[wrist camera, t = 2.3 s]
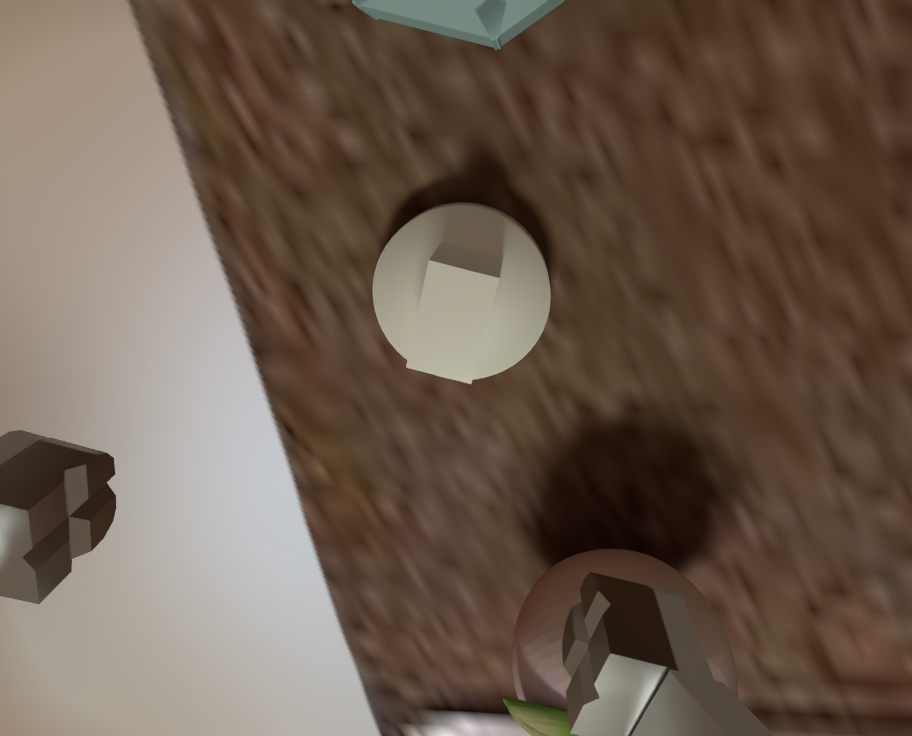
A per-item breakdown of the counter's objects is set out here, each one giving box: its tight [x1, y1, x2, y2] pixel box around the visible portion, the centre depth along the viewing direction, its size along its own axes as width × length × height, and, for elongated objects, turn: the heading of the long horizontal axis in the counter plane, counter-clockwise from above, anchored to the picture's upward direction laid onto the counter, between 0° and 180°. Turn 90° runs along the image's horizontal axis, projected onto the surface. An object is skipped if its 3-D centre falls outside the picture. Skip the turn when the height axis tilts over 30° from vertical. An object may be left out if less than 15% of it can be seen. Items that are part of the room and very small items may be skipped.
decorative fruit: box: [503, 549, 738, 736], centre depth 23 cm, size 9×8×10 cm
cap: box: [373, 202, 551, 384], centre depth 21 cm, size 7×7×4 cm
